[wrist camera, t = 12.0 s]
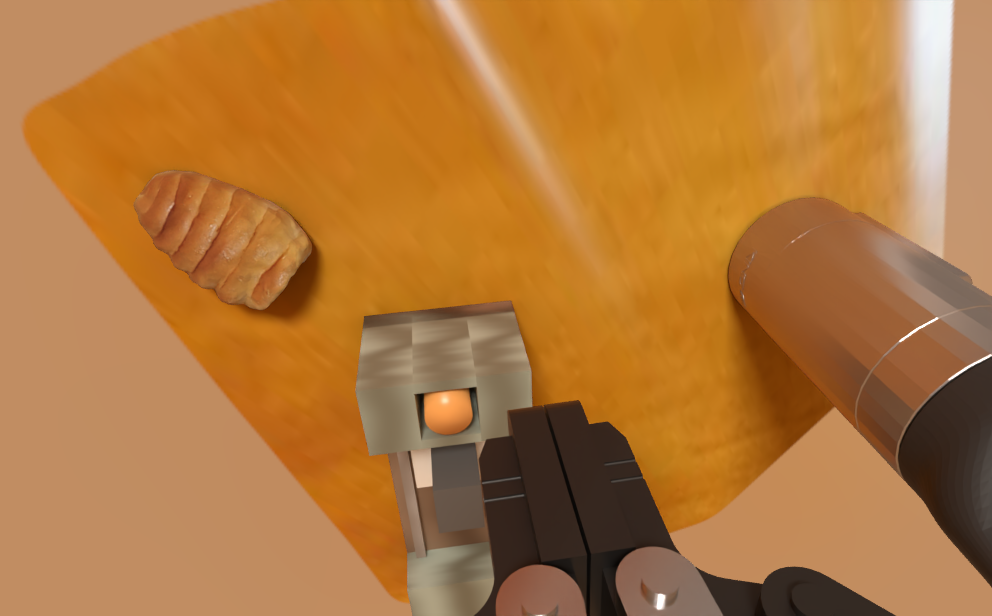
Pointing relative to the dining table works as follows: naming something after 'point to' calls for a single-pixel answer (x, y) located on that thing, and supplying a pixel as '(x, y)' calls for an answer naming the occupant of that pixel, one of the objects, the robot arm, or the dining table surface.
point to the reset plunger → (448, 410)
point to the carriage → (452, 484)
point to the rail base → (401, 428)
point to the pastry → (223, 236)
